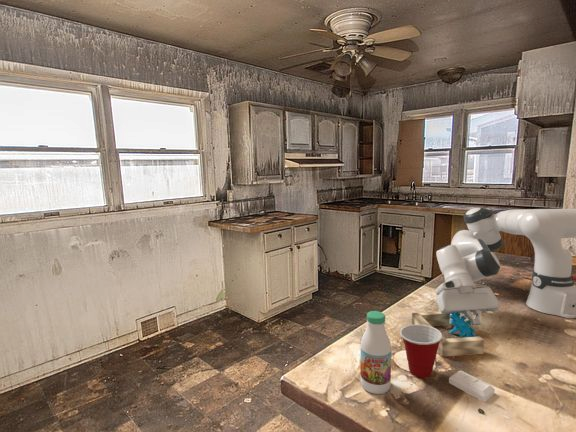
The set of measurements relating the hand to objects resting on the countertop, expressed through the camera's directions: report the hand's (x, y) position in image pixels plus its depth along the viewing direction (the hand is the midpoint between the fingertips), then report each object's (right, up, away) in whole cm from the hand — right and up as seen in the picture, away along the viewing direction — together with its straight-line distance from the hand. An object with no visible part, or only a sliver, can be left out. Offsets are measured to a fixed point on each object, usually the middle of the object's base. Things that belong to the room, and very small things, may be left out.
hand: (476, 324), depth 109 cm
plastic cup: (-27, -7, -18) cm, 33 cm away
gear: (-5, -4, 0) cm, 6 cm away
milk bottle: (-40, -9, -23) cm, 47 cm away
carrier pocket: (-11, -4, -1) cm, 12 cm away
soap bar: (-16, -9, -25) cm, 31 cm away
